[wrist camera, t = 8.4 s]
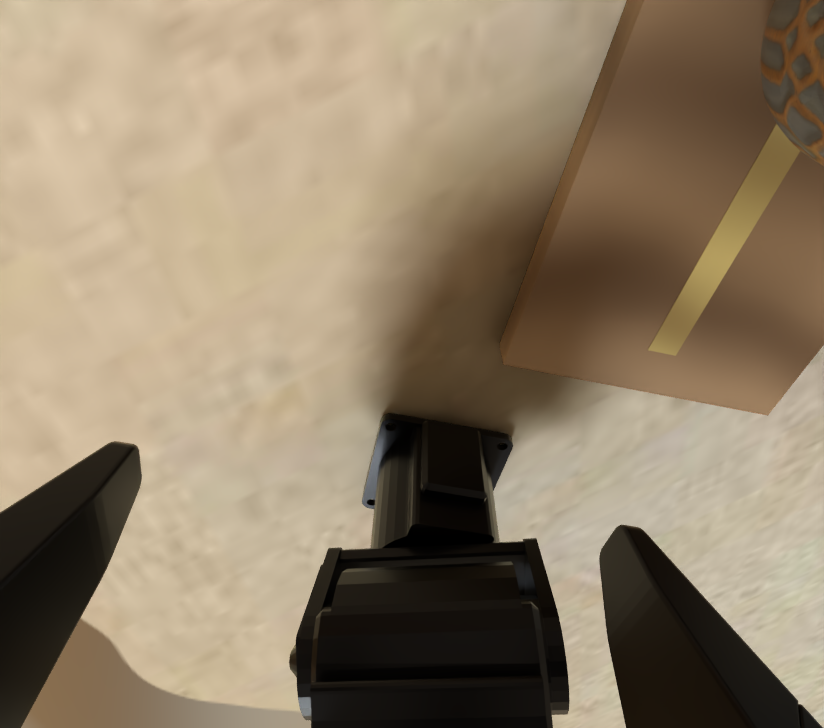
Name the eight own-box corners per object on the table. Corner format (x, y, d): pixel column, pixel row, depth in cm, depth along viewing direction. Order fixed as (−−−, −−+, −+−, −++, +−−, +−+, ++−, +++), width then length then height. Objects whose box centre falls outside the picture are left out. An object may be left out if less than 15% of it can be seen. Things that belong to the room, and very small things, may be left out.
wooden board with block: (750, 393, 25) (839, 506, 19) (499, 344, 23) (520, 450, 18) (1211, -224, 13) (1730, -361, 8) (769, -384, 12) (1040, -673, 7)
